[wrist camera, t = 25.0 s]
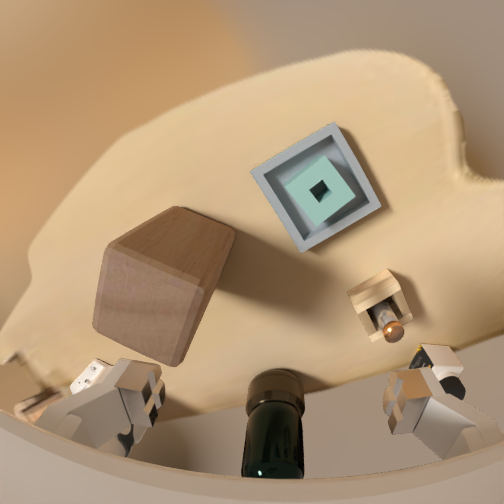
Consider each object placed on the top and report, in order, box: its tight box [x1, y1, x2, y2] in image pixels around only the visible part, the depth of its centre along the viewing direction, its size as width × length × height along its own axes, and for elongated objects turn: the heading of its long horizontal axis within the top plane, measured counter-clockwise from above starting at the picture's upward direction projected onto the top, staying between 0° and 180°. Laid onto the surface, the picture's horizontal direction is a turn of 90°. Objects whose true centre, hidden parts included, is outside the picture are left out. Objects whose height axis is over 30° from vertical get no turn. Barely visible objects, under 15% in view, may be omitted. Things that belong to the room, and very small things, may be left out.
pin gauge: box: [371, 299, 404, 343], centre depth 41 cm, size 3×3×10 cm
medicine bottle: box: [407, 344, 466, 400], centre depth 43 cm, size 7×7×12 cm
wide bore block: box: [347, 269, 413, 342], centre depth 43 cm, size 7×7×5 cm
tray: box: [250, 122, 381, 253], centre depth 40 cm, size 12×12×3 cm
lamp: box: [241, 370, 305, 479], centre depth 41 cm, size 10×10×22 cm
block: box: [92, 206, 236, 367], centre depth 36 cm, size 10×10×20 cm
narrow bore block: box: [284, 155, 355, 227], centre depth 38 cm, size 6×6×5 cm
